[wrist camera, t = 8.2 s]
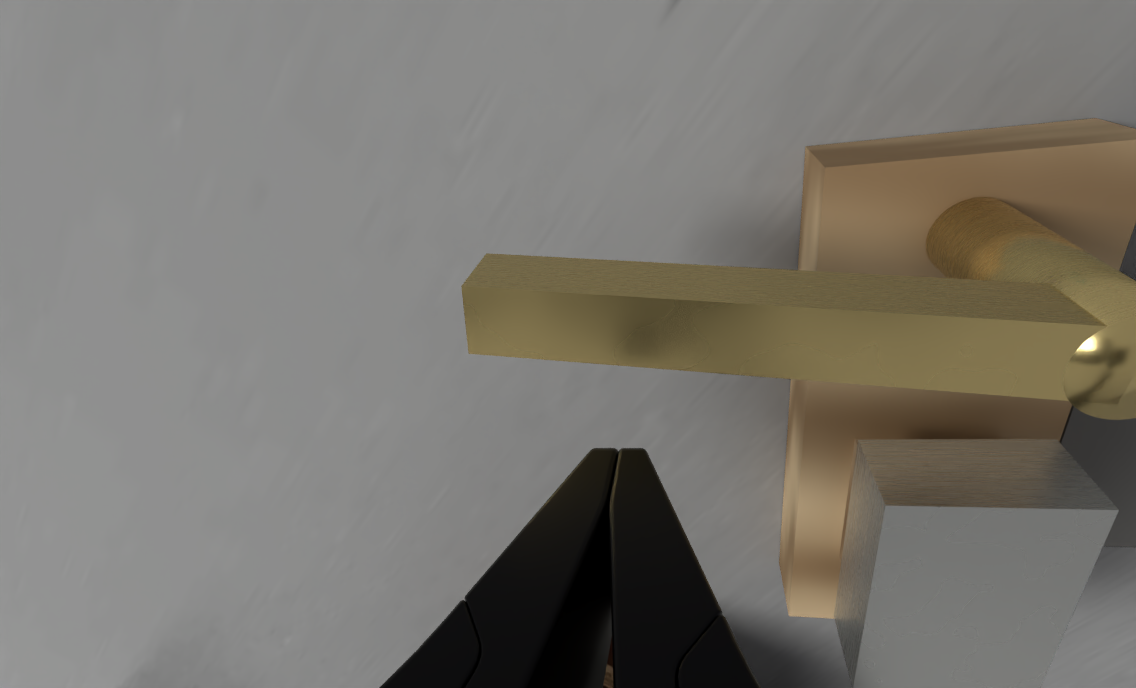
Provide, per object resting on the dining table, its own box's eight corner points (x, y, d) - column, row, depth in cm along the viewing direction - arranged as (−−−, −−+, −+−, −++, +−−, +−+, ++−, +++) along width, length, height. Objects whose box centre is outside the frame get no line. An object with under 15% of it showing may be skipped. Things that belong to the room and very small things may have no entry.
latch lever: (1031, 198, 14) (1248, 315, 9) (1000, 276, 15) (1177, 424, 10) (533, 181, 15) (459, 270, 10) (535, 252, 16) (470, 366, 11)
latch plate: (965, 570, 23) (1022, 683, 19) (779, 562, 24) (798, 666, 21) (1095, 117, 15) (1241, 156, 11) (805, 146, 16) (845, 189, 12)
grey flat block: (992, 624, 19) (1033, 703, 17) (833, 615, 20) (852, 689, 18) (1057, 439, 15) (1119, 510, 13) (858, 439, 16) (885, 505, 14)
